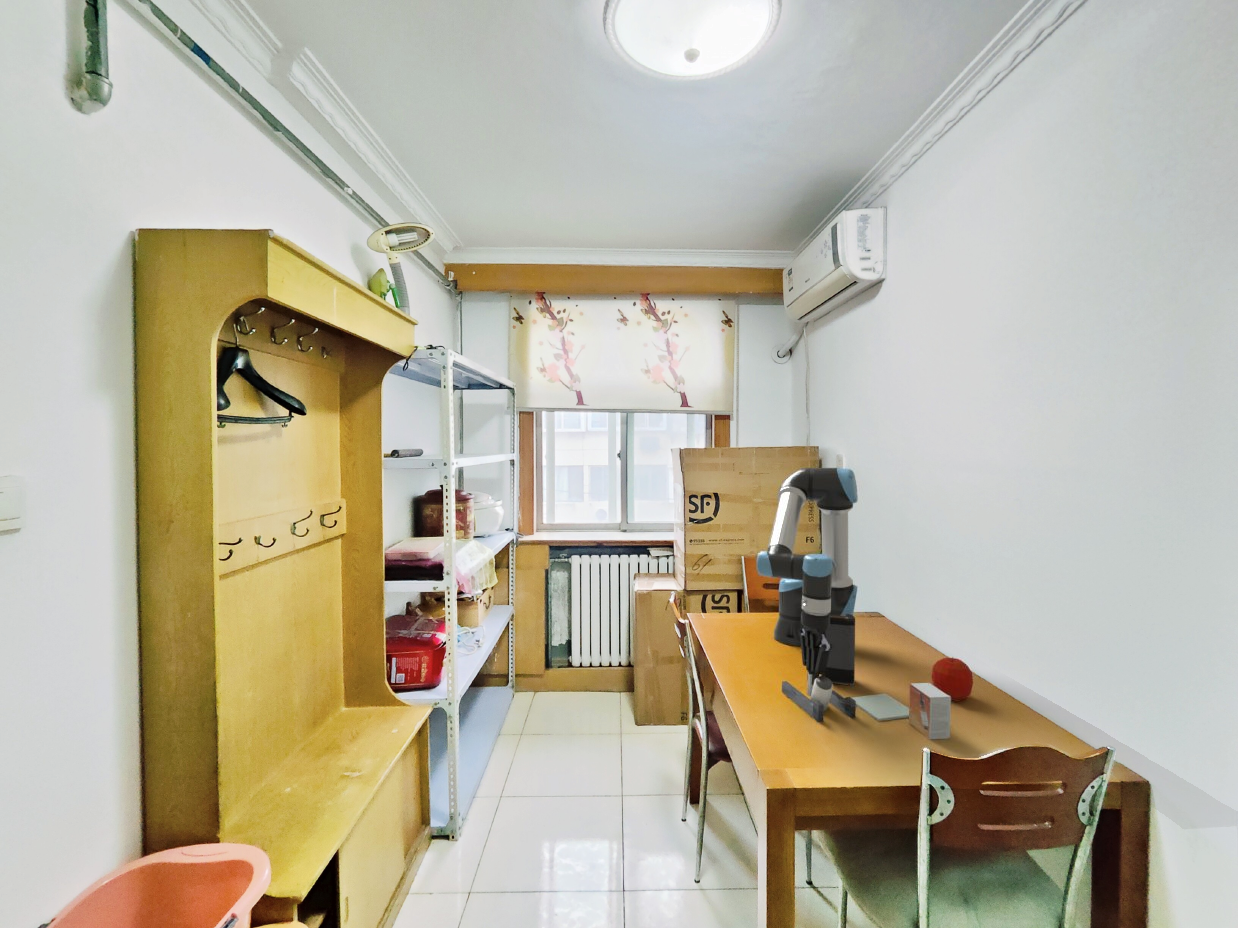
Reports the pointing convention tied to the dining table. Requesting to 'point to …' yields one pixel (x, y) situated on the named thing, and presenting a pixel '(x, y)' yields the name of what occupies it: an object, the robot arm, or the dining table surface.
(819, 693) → the white cylindrical piece
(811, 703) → the channel
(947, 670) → the apple
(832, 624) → the electronic device
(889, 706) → the pad
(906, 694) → the dining table surface
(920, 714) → the small box
